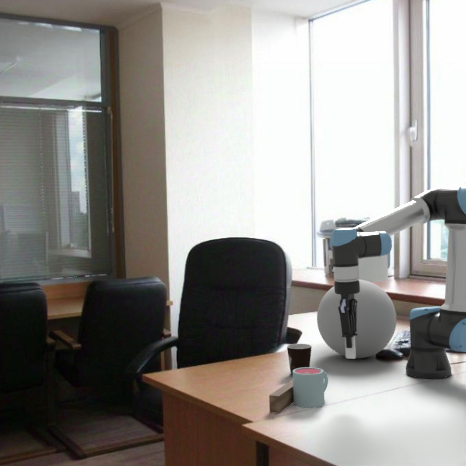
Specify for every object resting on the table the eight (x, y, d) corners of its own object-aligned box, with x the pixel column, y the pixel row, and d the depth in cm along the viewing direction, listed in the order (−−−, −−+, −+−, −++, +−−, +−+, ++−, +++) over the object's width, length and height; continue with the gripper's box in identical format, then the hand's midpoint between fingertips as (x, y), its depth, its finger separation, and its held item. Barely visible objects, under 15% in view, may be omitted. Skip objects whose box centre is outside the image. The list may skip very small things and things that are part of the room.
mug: (311, 410, 207) (310, 376, 207) (287, 404, 214) (286, 371, 213) (340, 400, 217) (339, 367, 216) (316, 394, 223) (315, 363, 223)
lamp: (397, 337, 312) (394, 235, 310) (377, 347, 292) (375, 238, 291) (348, 333, 324) (346, 235, 322) (327, 342, 305) (324, 238, 303)
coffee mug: (311, 377, 245) (310, 348, 245) (286, 377, 247) (285, 348, 246) (314, 369, 256) (313, 342, 256) (290, 369, 258) (289, 341, 258)
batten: (309, 390, 228) (308, 375, 228) (279, 413, 205) (278, 396, 205) (300, 389, 230) (299, 374, 229) (269, 412, 206) (269, 395, 206)
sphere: (314, 350, 290) (313, 276, 289) (389, 348, 289) (387, 274, 288) (321, 367, 260) (319, 285, 259) (404, 365, 259) (402, 283, 258)
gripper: (340, 277, 220) (344, 352, 222) (328, 283, 209) (332, 362, 210) (364, 276, 217) (368, 353, 219) (353, 283, 205) (357, 363, 207)
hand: (350, 357), depth 214 cm, fingers closed
